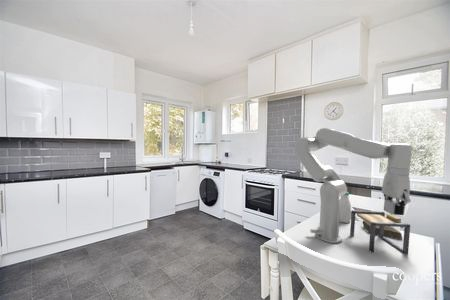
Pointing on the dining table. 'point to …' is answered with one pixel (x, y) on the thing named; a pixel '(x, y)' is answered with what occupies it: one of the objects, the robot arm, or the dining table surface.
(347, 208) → the milk bottle
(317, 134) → the robot arm
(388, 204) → the granite block
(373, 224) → the frame
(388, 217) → the trapdoor
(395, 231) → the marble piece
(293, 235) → the dining table surface
